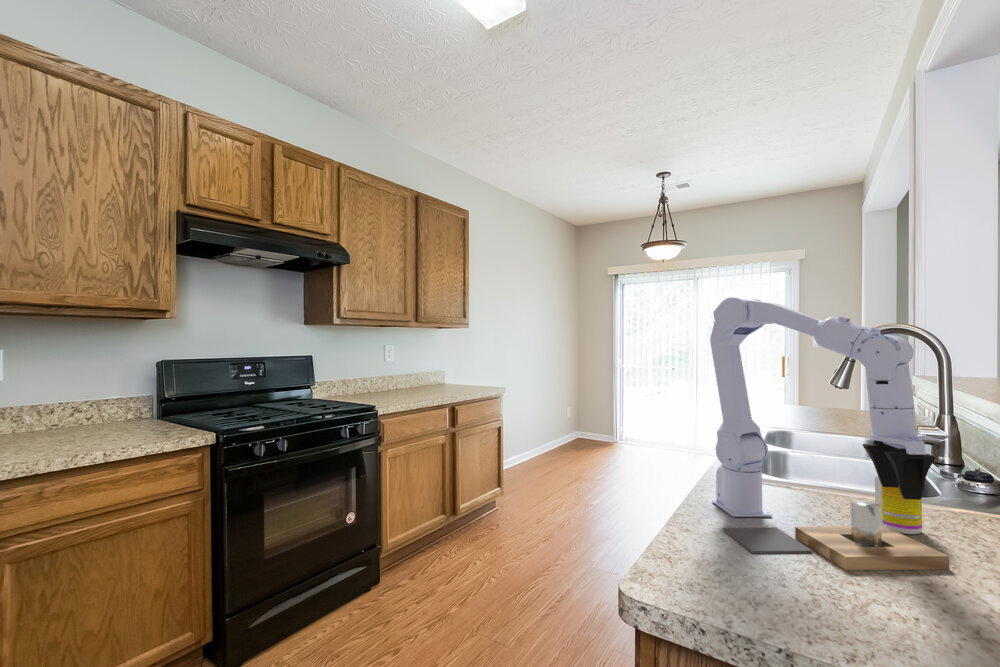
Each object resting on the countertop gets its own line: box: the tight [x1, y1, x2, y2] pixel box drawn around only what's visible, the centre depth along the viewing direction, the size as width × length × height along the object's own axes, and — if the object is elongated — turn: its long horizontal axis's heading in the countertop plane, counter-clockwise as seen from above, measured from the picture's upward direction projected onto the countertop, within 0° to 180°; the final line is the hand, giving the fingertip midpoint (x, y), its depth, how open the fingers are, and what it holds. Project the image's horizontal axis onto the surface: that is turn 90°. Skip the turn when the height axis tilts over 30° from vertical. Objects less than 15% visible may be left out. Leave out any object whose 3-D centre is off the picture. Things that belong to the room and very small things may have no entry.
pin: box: [849, 499, 882, 547], centre depth 78 cm, size 4×4×8 cm
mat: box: [722, 526, 814, 555], centre depth 83 cm, size 10×10×1 cm
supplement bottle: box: [874, 471, 923, 535], centre depth 88 cm, size 7×7×13 cm
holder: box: [794, 525, 950, 571], centre depth 78 cm, size 12×16×2 cm
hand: (900, 492), depth 76 cm, fingers open, 7 cm apart
